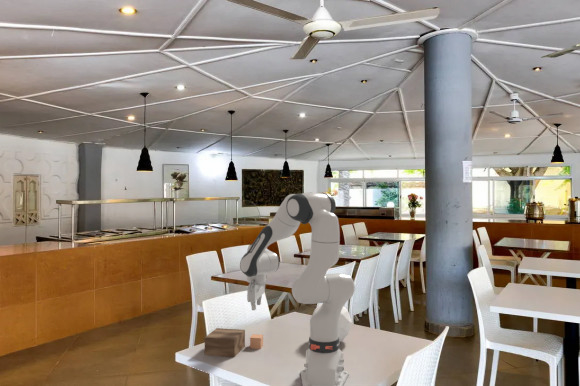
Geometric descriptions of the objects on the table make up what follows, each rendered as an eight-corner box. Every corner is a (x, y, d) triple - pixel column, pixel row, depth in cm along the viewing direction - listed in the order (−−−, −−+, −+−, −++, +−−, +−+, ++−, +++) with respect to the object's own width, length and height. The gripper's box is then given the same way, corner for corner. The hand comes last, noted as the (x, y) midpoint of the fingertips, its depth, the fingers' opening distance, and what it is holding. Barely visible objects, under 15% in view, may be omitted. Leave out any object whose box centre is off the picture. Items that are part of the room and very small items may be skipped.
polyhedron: (337, 352, 211) (357, 317, 216) (337, 351, 193) (360, 312, 198) (304, 330, 216) (325, 296, 222) (302, 327, 198) (324, 290, 203)
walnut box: (234, 357, 188) (234, 339, 188) (204, 355, 191) (204, 337, 191) (244, 346, 201) (244, 329, 201) (217, 344, 204) (216, 328, 205)
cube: (260, 349, 198) (260, 338, 198) (250, 348, 199) (250, 337, 199) (263, 345, 203) (263, 334, 203) (252, 344, 204) (252, 334, 204)
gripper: (257, 282, 191) (257, 313, 190) (267, 274, 211) (267, 302, 211) (243, 281, 192) (243, 313, 191) (254, 273, 212) (255, 301, 212)
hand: (256, 307), depth 201 cm, fingers open, 8 cm apart
